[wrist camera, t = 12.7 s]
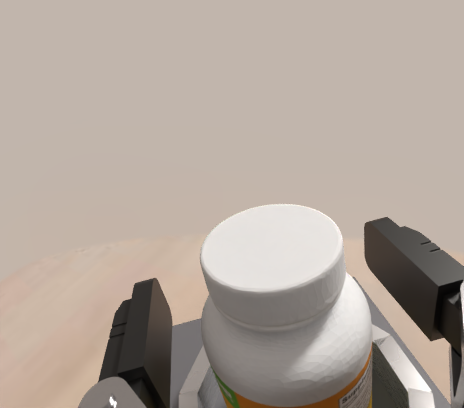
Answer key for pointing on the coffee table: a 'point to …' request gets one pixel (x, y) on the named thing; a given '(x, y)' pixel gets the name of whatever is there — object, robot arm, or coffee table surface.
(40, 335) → the coffee table surface
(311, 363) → the supplement bottle
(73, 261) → the coffee table surface
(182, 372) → the base plate
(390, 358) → the stone collar
